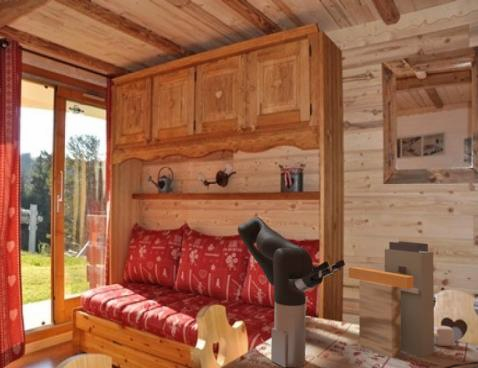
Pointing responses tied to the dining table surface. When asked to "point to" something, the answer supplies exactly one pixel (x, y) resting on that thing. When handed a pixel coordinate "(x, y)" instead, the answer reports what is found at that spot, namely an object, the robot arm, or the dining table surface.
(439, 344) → the power adapter
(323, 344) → the dining table surface
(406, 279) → the orange block
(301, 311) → the robot arm
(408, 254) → the case
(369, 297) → the birch block
